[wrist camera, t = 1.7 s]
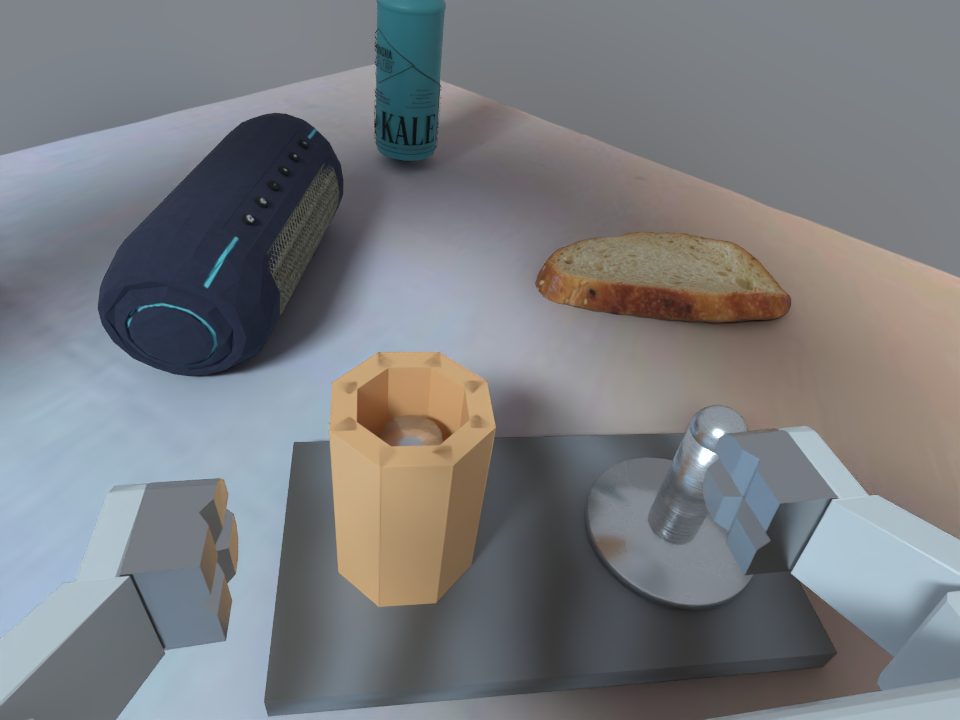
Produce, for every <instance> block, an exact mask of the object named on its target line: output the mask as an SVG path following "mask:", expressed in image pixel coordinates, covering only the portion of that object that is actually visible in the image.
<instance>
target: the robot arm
mask: <svg viewBox="0 0 960 720" xmlns="http://www.w3.org/2000/svg"><path fill="white" fill-rule="evenodd" d="M714 451H715V452H716V454H717V456H718V458H719V459H717V460H716V461H715V462H714V463H713V464H712V465H710V466H709V467H708V468H707V471H706V474H705V477H704V480H703V495H704V500H705V503H706V507H707V509H708V511H709V513H710V515H711V517H712V519H713V521H714V522H716V523H717V524H719V525H720V526H722V527H723V528H725V529H726V530H728V534H727V539H726V544H727V546H728V547H729V549H730V551H731V553H732V554H733V556H734V558H735V560H736V561H737V563H738V565H739V567H740V568H741V570H742V572H743V574H744V575H753V574H764V573H774V572H784V571H792V572H791V574H792V575H793V576H795V577H796V578H797V579H798V580H800V581H801V582H802V583H803V584H804V585H806V586H807V587H808V588H809V589H811V590H812V591H813V592H814V593H816V594H817V595H818V596H819V597H821V598H822V599H823V600H824V601H825V602H827V603H828V604H829V605H830V606H832V607H833V608H834V609H835V610H837V611H838V612H839V613H840V614H841V615H843V616H844V617H845V618H846V619H848V620H849V621H850V622H851V623H853V624H854V625H855V626H856V627H857V628H859V629H860V630H861V631H862V632H864V633H865V634H866V635H867V636H869V637H870V638H871V639H872V640H873V641H875V642H876V643H877V644H878V645H880V646H881V647H882V648H883V649H885V650H886V651H887V652H888V653H890V654H891V655H892V656H893V657H894V658H893V659H892V660H891V661H890V663H889V664H888V665H887V666H886V667H885V669H884V670H883V671H882V672H881V674H880V675H879V678H878V681H877V684H878V686H879V687H880V689H881V690H882V691H876V692H870V693H864V694H857V695H851V696H845V697H839V698H833V699H827V700H821V701H814V702H808V703H802V704H796V705H790V706H784V707H778V708H772V709H765V710H759V711H753V712H747V713H741V714H735V715H729V716H723V717H716V718H710V719H704V720H960V540H959V539H957V538H955V537H953V536H951V535H950V534H948V533H946V532H944V531H942V530H940V529H939V528H937V527H935V526H933V525H931V524H929V523H928V522H926V521H924V520H922V519H920V518H918V517H917V516H915V515H913V514H911V513H909V512H907V511H906V510H904V509H902V508H900V507H898V506H897V505H895V504H893V503H891V502H889V501H887V500H886V499H884V498H882V497H880V496H878V495H868V494H867V493H866V491H865V490H864V489H863V488H862V487H861V485H860V484H859V483H858V482H857V481H856V479H855V478H854V477H853V476H852V475H851V473H850V472H849V471H848V470H847V469H846V467H845V466H844V465H843V464H842V463H841V461H840V460H839V459H838V458H837V457H836V455H835V454H834V453H833V452H832V451H831V449H830V448H829V447H828V446H827V445H826V443H825V442H824V441H823V440H822V439H821V437H820V436H819V435H818V434H817V433H816V431H814V430H813V429H811V428H809V427H808V426H799V427H788V428H779V429H766V430H756V431H746V432H736V433H726V434H724V435H722V436H721V437H720V438H719V439H718V441H717V444H716V446H715V449H714ZM227 500H228V492H227V488H226V485H225V482H224V480H223V479H220V478H218V479H202V480H186V481H171V482H155V483H148V484H133V485H118V486H114V487H113V488H112V489H111V490H110V492H109V493H108V494H107V495H106V498H105V501H104V503H103V506H102V509H101V512H100V514H99V517H98V520H97V522H96V525H95V528H94V531H93V533H92V536H91V539H90V541H89V544H88V547H87V550H86V552H85V555H84V558H83V560H82V563H81V566H80V569H79V571H78V574H77V577H76V579H75V582H67V583H63V584H62V585H60V586H59V587H58V588H57V589H56V590H55V591H54V592H53V593H52V594H50V595H49V596H48V597H47V598H46V599H45V600H44V601H43V602H41V603H40V604H39V605H38V606H37V607H36V608H35V609H34V610H33V611H31V612H30V613H29V614H28V615H27V616H26V617H25V618H24V619H22V620H21V621H20V622H19V623H18V624H17V625H16V626H15V627H14V628H12V629H11V630H10V631H9V632H8V633H7V634H6V635H5V636H3V637H2V638H1V639H0V720H116V719H117V718H118V716H119V715H120V714H121V712H122V711H123V709H124V708H125V707H126V705H127V704H128V703H129V701H130V700H131V699H132V697H133V696H134V695H135V693H136V692H137V691H138V689H139V688H140V687H141V685H142V684H143V683H144V681H145V680H146V679H147V677H148V676H149V675H150V673H151V672H152V671H153V669H154V668H155V667H156V665H157V664H158V663H159V661H160V660H161V659H162V657H163V656H164V655H165V652H164V650H169V649H176V648H182V647H189V646H195V645H202V644H209V643H215V642H222V641H226V637H227V630H228V623H229V617H230V610H231V604H232V599H231V595H230V592H229V588H228V585H227V583H228V582H229V581H230V580H231V579H232V578H233V577H234V576H235V574H236V569H237V561H238V533H237V525H236V521H235V517H234V514H233V513H232V512H230V511H229V510H227V509H226V506H227Z"/></svg>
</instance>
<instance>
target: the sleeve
mask: <svg viewBox="0 0 960 720" xmlns="http://www.w3.org/2000/svg"><path fill="white" fill-rule="evenodd" d="M405 415H416V416H422V417H425V418H427V419H429V420H431V421H432V422H434V423H435V424H436V425H437V426H438V427H439V429H440V431H441V433H442V444H441V445H432V446H390V445H388V444H387V443H386V442H384V441H383V440H381V439H380V437H381V432H382V430H383V428H384V426H385V425H386V424H387V423H388V422H390V421H391V420H393V419H395V418H397V417H400V416H405ZM495 431H496V425H495V420H494V415H493V410H492V405H491V399H490V394H489V389H488V384H487V381H486V380H484V379H483V378H481V377H480V376H478V375H476V374H475V373H473V372H471V371H470V370H468V369H466V368H465V367H463V366H461V365H460V364H458V363H456V362H455V361H453V360H451V359H450V358H448V357H447V356H445V355H443V354H442V353H440V352H378V353H377V354H375V355H373V356H372V357H370V358H369V359H367V360H366V361H364V362H363V363H361V364H360V365H358V366H357V367H355V368H354V369H352V370H350V371H349V372H347V373H346V374H344V375H343V376H341V377H340V378H338V379H337V380H335V381H334V382H332V398H331V414H330V430H329V437H330V452H331V468H332V483H333V498H334V514H335V529H336V544H337V560H338V572H339V573H340V574H341V575H342V576H343V577H344V578H346V579H347V580H348V581H349V582H350V583H351V584H353V585H354V586H355V587H356V588H357V589H358V590H360V591H361V592H362V593H363V594H364V595H365V596H367V597H368V598H369V599H370V600H371V601H372V602H374V603H375V604H376V605H377V606H378V607H386V606H401V605H417V604H432V603H437V602H438V601H439V600H440V598H441V597H442V596H443V595H444V594H445V593H446V592H447V591H448V590H449V589H450V588H451V586H452V585H453V584H454V583H455V582H456V581H457V580H458V579H459V578H460V577H461V576H462V575H463V573H464V572H465V571H466V570H467V569H468V568H469V567H470V566H471V564H472V559H473V553H474V547H475V542H476V536H477V531H478V525H479V520H480V514H481V509H482V503H483V497H484V492H485V486H486V481H487V475H488V470H489V464H490V459H491V453H492V447H493V442H494V436H495Z"/></svg>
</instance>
